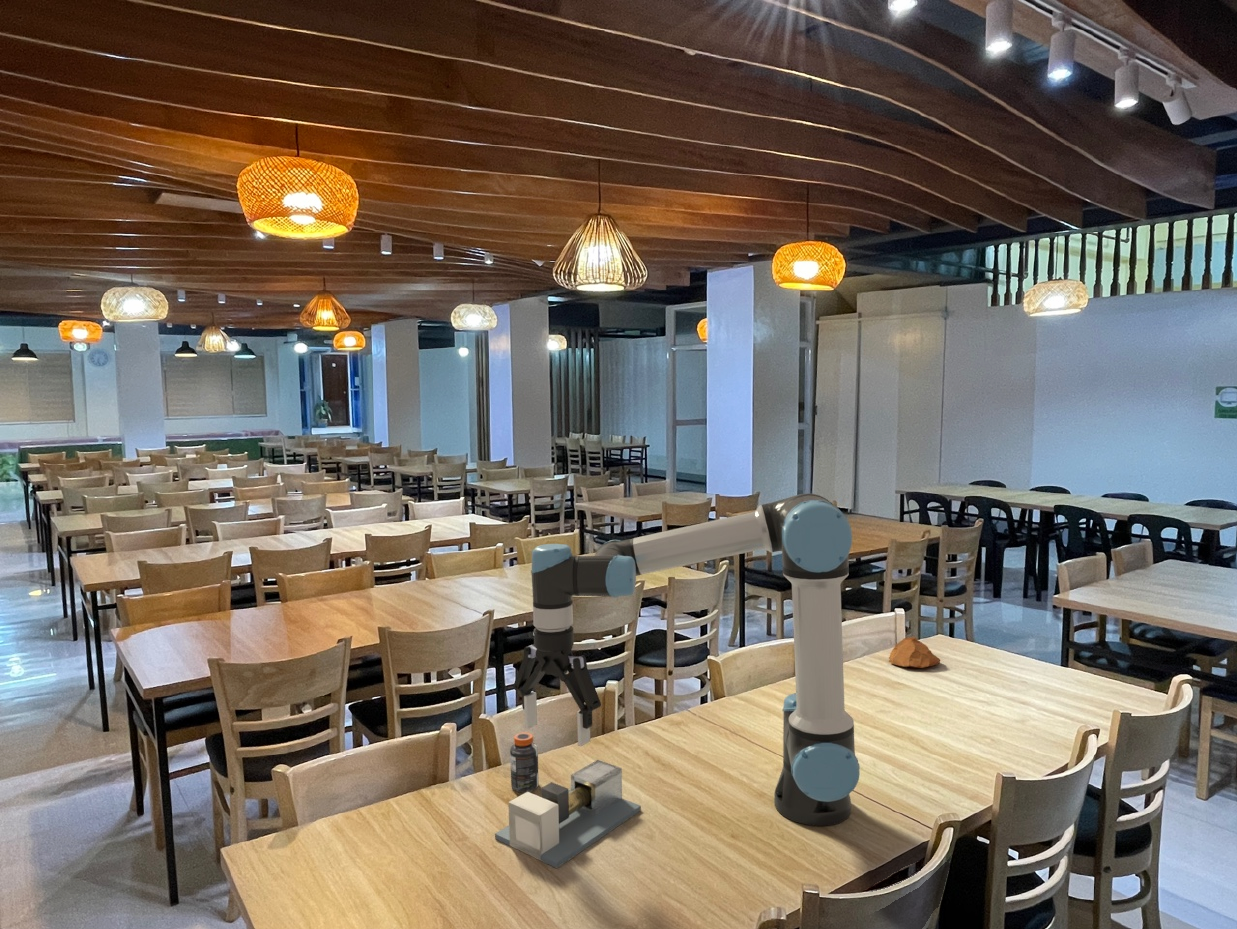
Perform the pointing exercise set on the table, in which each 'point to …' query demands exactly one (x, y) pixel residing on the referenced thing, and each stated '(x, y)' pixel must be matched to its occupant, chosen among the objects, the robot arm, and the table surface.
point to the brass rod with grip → (566, 798)
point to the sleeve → (599, 785)
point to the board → (581, 831)
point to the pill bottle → (524, 763)
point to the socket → (533, 824)
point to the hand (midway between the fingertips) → (557, 735)
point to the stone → (912, 654)
